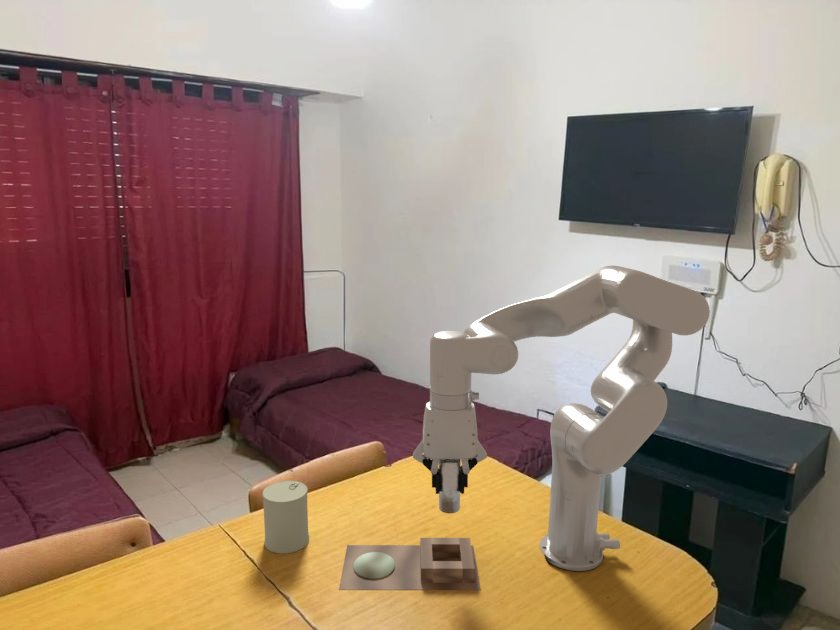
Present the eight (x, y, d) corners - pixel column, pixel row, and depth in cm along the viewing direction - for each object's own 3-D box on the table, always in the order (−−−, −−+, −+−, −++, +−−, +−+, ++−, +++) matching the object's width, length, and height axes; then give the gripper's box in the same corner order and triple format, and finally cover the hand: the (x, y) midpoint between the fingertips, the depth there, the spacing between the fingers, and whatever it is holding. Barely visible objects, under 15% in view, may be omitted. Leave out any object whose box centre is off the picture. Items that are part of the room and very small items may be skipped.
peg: (459, 502, 116) (459, 454, 114) (460, 513, 112) (461, 463, 110) (438, 502, 116) (438, 454, 114) (439, 513, 112) (439, 464, 110)
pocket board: (473, 549, 124) (473, 532, 123) (480, 594, 110) (481, 575, 109) (347, 549, 123) (346, 531, 123) (339, 594, 110) (338, 575, 109)
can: (318, 535, 128) (316, 484, 126) (290, 558, 120) (288, 504, 118) (284, 524, 132) (282, 474, 130) (255, 546, 124) (252, 493, 122)
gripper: (493, 391, 113) (491, 480, 117) (404, 392, 113) (405, 481, 117) (498, 405, 106) (496, 500, 110) (404, 406, 106) (405, 500, 110)
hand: (449, 489), depth 113 cm, fingers closed on peg, 4 cm apart
